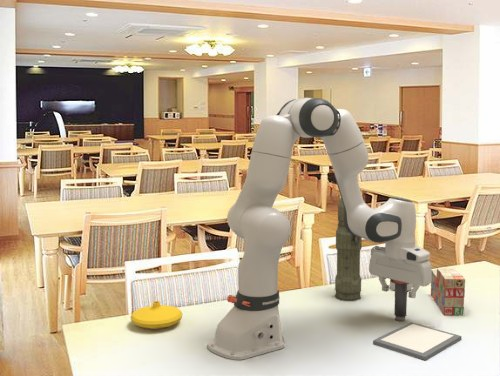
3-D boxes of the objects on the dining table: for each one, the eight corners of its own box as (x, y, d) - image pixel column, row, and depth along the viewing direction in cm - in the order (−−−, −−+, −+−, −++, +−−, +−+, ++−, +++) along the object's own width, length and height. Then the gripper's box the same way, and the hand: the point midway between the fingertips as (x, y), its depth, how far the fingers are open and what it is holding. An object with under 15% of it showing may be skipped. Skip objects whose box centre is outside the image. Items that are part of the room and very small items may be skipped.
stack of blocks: (430, 295, 209) (431, 260, 208) (448, 295, 209) (449, 261, 207) (443, 316, 188) (444, 278, 187) (464, 316, 188) (465, 278, 186)
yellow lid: (120, 329, 179) (119, 306, 179) (150, 313, 194) (150, 291, 193) (163, 337, 173) (163, 313, 172) (192, 320, 187) (191, 298, 186)
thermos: (347, 290, 215) (349, 194, 210) (368, 299, 204) (370, 198, 200) (327, 294, 211) (328, 196, 206) (347, 303, 200) (349, 200, 196)
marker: (402, 322, 182) (403, 276, 180) (391, 319, 185) (392, 274, 183) (408, 319, 185) (410, 274, 183) (398, 316, 188) (399, 271, 186)
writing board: (425, 360, 155) (425, 356, 155) (372, 343, 166) (372, 339, 166) (461, 339, 169) (461, 335, 168) (410, 325, 180) (411, 321, 180)
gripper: (365, 246, 187) (364, 289, 189) (424, 257, 173) (422, 303, 175) (377, 243, 192) (375, 285, 194) (435, 254, 177) (433, 299, 179)
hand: (398, 294), depth 184 cm, fingers open, 8 cm apart
